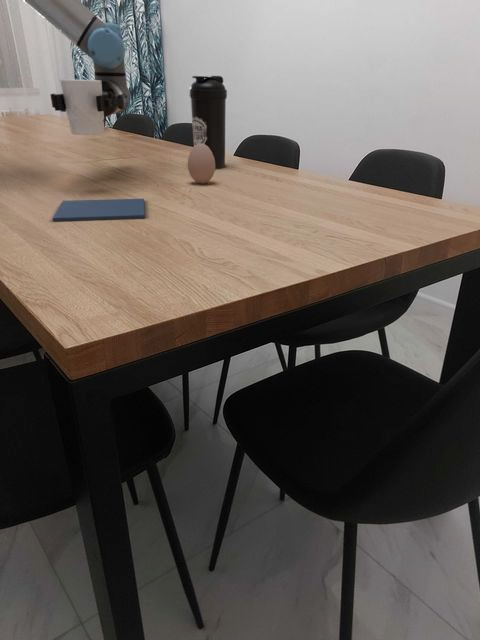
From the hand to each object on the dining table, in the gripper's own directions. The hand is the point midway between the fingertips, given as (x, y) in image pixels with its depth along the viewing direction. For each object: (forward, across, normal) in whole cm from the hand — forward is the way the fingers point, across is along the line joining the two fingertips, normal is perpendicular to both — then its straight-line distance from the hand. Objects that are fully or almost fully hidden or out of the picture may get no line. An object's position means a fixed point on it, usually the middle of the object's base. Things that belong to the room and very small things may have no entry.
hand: (77, 103), depth 99 cm
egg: (-16, -23, -18) cm, 33 cm away
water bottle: (-41, -24, -18) cm, 51 cm away
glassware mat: (+13, -5, -18) cm, 23 cm away
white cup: (-5, 0, -6) cm, 8 cm away
